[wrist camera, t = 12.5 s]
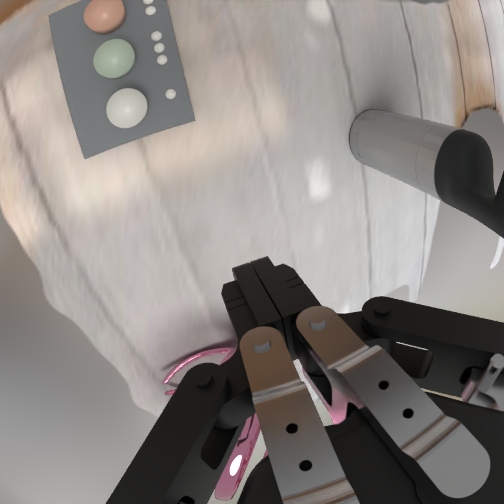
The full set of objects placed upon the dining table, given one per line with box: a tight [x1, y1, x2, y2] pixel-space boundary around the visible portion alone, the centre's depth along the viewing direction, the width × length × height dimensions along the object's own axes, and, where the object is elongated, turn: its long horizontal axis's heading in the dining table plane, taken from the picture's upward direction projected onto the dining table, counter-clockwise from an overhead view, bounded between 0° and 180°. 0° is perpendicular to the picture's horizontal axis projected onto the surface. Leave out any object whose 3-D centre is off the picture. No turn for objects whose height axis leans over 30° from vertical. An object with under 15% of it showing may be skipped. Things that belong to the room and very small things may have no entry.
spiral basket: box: [163, 347, 268, 501], centre depth 46 cm, size 28×28×27 cm
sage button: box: [93, 39, 136, 79], centre depth 26 cm, size 4×4×3 cm
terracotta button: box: [84, 0, 126, 35], centre depth 22 cm, size 4×4×3 cm
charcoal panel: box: [49, 0, 195, 159], centre depth 28 cm, size 14×20×2 cm
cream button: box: [106, 88, 148, 128], centre depth 29 cm, size 4×4×3 cm
